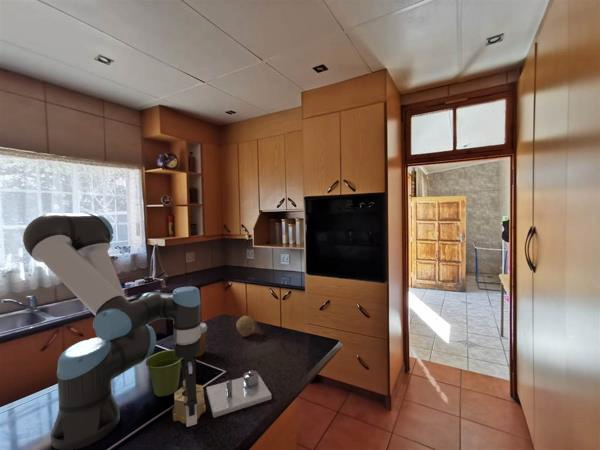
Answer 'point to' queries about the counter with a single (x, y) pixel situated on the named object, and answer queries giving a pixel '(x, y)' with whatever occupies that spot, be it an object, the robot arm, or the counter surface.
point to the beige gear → (180, 399)
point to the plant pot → (164, 372)
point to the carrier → (237, 394)
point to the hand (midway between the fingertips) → (189, 411)
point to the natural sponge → (245, 326)
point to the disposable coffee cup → (202, 339)
